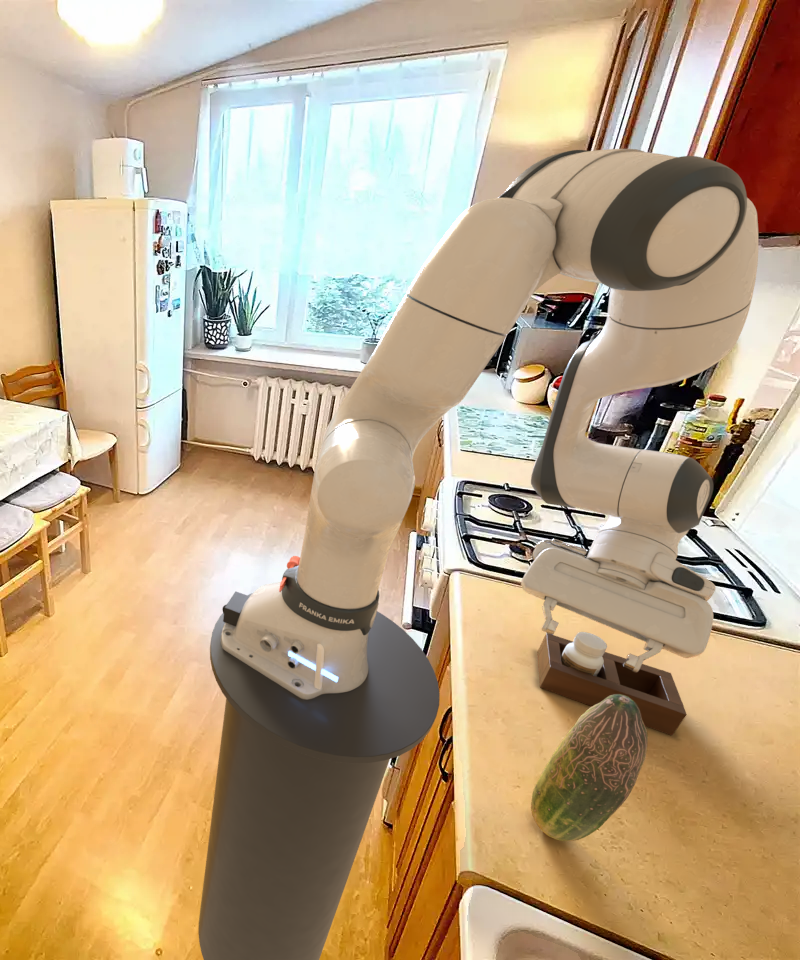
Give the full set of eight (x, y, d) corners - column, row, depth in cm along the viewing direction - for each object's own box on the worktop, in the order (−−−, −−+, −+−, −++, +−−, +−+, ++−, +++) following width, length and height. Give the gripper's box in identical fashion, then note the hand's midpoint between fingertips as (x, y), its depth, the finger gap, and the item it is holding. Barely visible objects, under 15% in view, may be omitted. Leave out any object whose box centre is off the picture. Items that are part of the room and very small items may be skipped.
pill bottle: (548, 678, 75) (568, 638, 72) (557, 664, 78) (577, 624, 74) (584, 698, 72) (607, 657, 69) (592, 681, 75) (615, 641, 71)
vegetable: (521, 787, 60) (590, 662, 51) (586, 819, 57) (672, 691, 48) (519, 833, 56) (595, 704, 47) (591, 869, 53) (687, 739, 44)
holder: (672, 735, 67) (687, 714, 65) (539, 687, 74) (550, 667, 72) (657, 693, 73) (671, 672, 72) (536, 652, 80) (546, 632, 78)
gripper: (543, 527, 78) (504, 607, 76) (733, 591, 65) (691, 690, 63) (539, 541, 83) (502, 617, 81) (715, 603, 70) (676, 695, 68)
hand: (586, 650), depth 72 cm, fingers open, 8 cm apart
